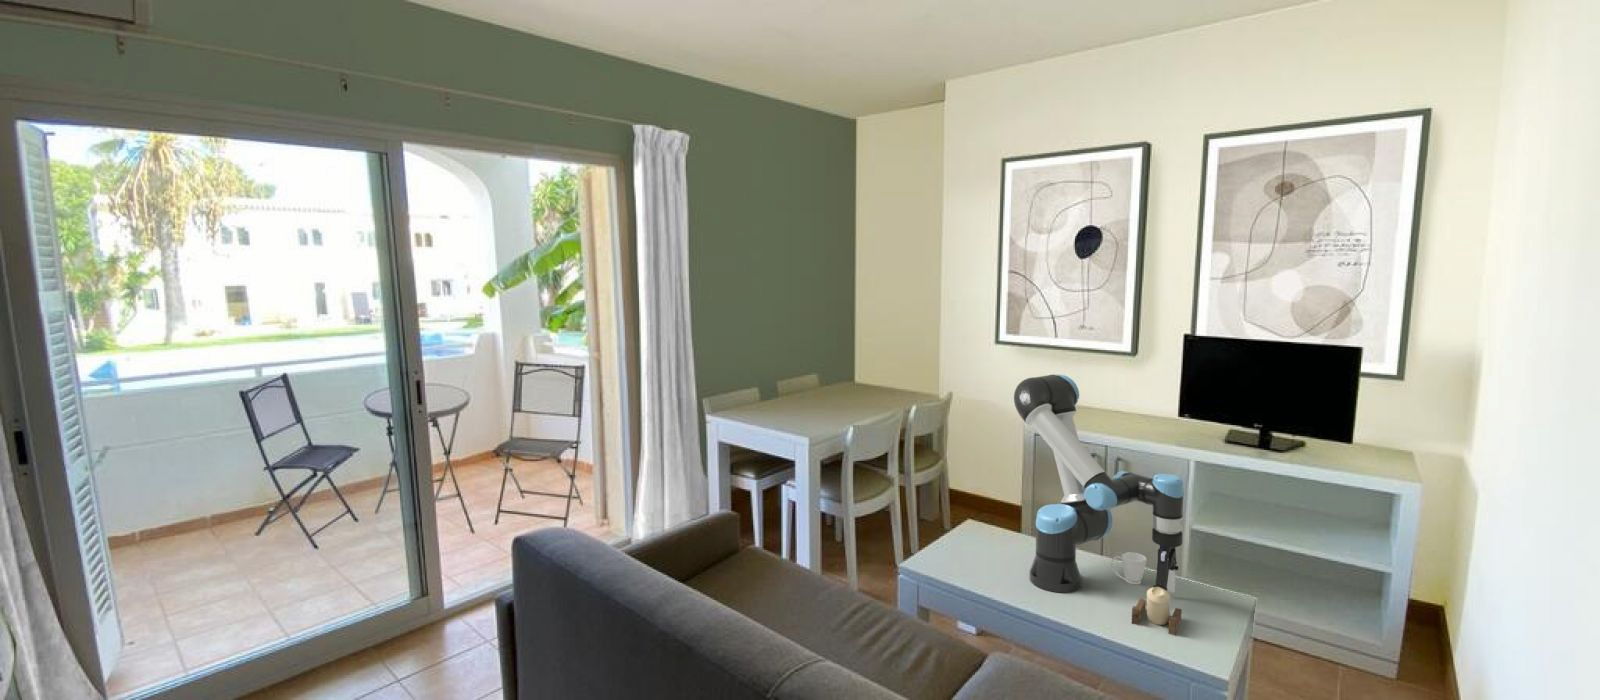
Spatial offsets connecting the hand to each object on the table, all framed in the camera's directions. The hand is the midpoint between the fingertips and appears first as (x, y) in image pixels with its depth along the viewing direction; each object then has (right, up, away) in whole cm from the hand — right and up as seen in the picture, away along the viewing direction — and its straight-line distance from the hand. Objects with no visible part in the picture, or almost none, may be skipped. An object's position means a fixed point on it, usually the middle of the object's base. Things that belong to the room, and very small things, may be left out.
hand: (1165, 600), depth 192 cm
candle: (-6, -2, -7) cm, 10 cm away
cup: (-2, 0, +17) cm, 17 cm away
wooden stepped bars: (-7, -3, -7) cm, 10 cm away
